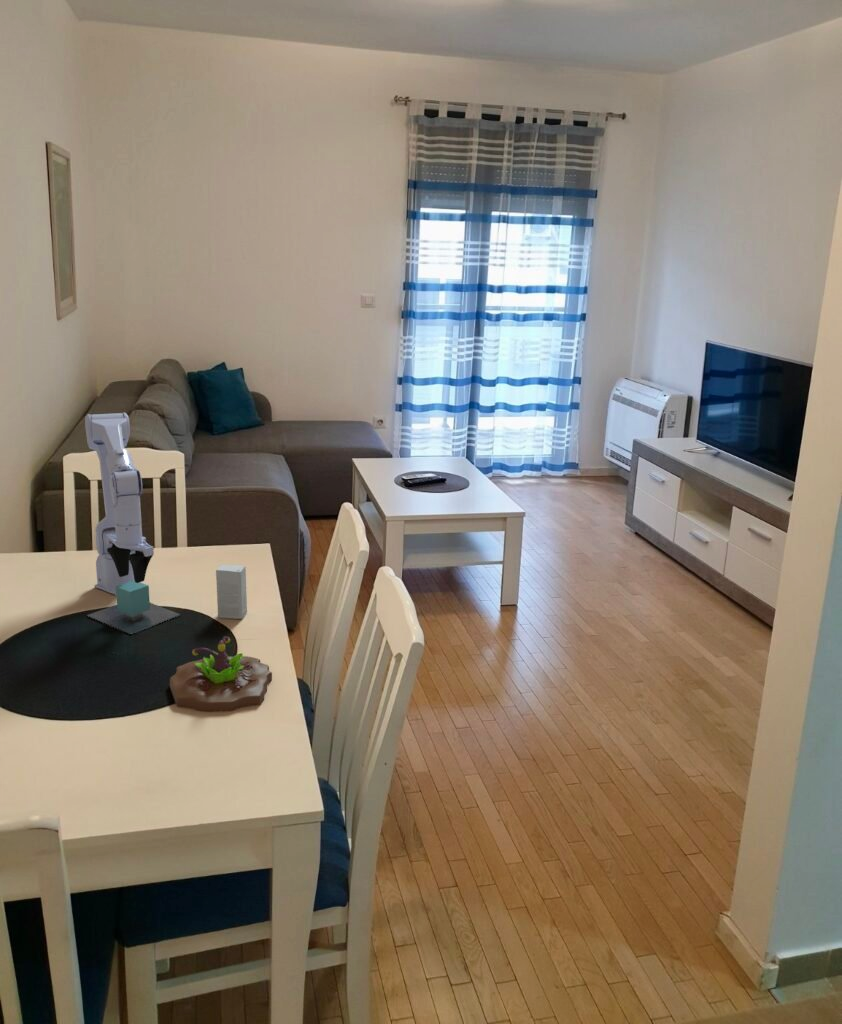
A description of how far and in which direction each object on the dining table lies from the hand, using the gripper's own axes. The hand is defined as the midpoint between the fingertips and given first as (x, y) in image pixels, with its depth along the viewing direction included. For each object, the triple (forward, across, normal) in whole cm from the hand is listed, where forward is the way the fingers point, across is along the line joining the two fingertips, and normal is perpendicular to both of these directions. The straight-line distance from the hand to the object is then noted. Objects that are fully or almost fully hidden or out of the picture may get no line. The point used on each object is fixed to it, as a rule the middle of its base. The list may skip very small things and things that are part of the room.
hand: (131, 578), depth 207 cm
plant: (+10, -42, +11) cm, 44 cm away
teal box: (+8, 0, 0) cm, 8 cm away
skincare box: (+10, -17, -15) cm, 25 cm away
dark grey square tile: (+9, 0, 0) cm, 9 cm away
